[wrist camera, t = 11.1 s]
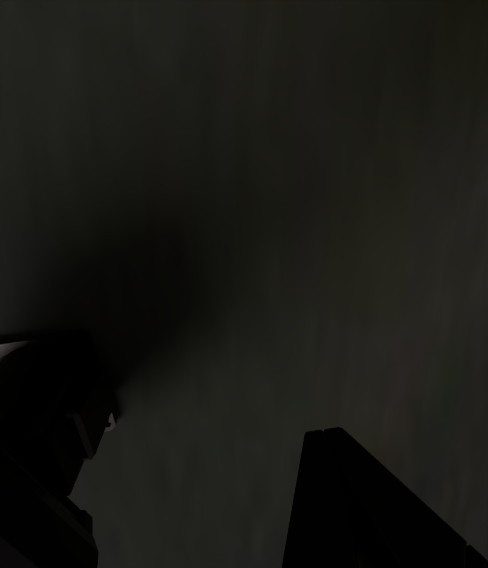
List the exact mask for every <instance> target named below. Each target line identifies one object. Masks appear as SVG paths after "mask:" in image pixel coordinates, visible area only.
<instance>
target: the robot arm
mask: <svg viewBox="0 0 488 568" xmlns="http://www.w3.org/2000/svg"><path fill="white" fill-rule="evenodd" d="M77 337H78V338H81V339H83V341H84V342H79V341H78V340H77V339H76V338H77ZM114 405H115V399H114V396H113V393H112V390H111V387H110V384H109V380H108V377H107V374H106V371H105V368H104V366H102V365H101V364H99V361H98V358H97V355H96V352H95V349H94V346H93V343H92V340H91V337H90V335H89V333H88V332H86V331H84V330H73V331H66V332H60V333H53V334H46V335H39V336H32V337H25V338H19V339H12V340H5V341H0V568H97V564H98V549H97V546H96V543H95V540H94V537H93V536H92V517H91V516H90V515H89V514H88V513H87V512H86V511H85V510H80V509H79V508H78V507H77V506H76V505H75V504H74V503H73V502H72V501H71V500H70V499H69V498H68V497H67V496H68V495H70V493H71V492H72V489H73V487H74V484H75V482H76V479H77V477H78V475H79V472H80V470H81V467H82V465H83V463H84V461H85V460H91V459H92V458H93V456H94V455H95V454H96V451H97V448H98V446H99V443H100V441H101V438H102V436H103V433H104V431H110V430H112V429H114V427H115V425H116V422H117V417H116V414H115V411H114V408H113V407H114ZM108 421H109V422H110V423H108ZM282 568H488V560H486V559H485V558H484V557H483V556H482V555H481V554H480V553H479V552H478V551H477V550H476V549H474V548H473V547H472V546H471V545H468V546H467V542H466V541H465V540H464V539H463V538H462V537H461V536H460V535H459V534H458V533H457V532H456V531H455V530H453V529H452V528H451V527H450V526H449V525H448V524H447V523H446V522H445V521H444V520H442V519H441V518H440V517H439V516H438V515H437V514H436V513H435V512H434V511H433V510H432V509H430V508H429V507H428V506H427V505H426V504H425V503H424V502H423V501H422V500H421V499H420V498H418V497H417V496H416V495H415V494H414V493H413V492H412V491H411V490H410V489H409V488H407V487H406V486H405V485H404V484H403V483H402V482H401V481H400V480H399V479H398V478H397V477H395V476H394V475H393V474H392V473H391V472H390V471H389V470H388V469H387V468H386V467H384V466H383V465H382V464H381V463H380V462H379V461H378V460H377V459H376V458H375V457H374V456H372V455H371V454H370V453H369V452H368V451H367V450H366V449H365V448H364V447H363V446H361V445H360V444H359V443H358V442H357V441H356V440H355V439H354V438H353V437H352V436H351V435H349V434H348V433H347V432H346V431H345V430H344V429H343V428H341V427H336V428H329V429H325V430H324V432H323V431H322V430H315V431H308V432H306V433H305V436H304V441H303V447H302V453H301V459H300V464H299V470H298V476H297V482H296V488H295V493H294V499H293V505H292V511H291V516H290V522H289V528H288V534H287V540H286V545H285V551H284V557H283V563H282Z"/></svg>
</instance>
